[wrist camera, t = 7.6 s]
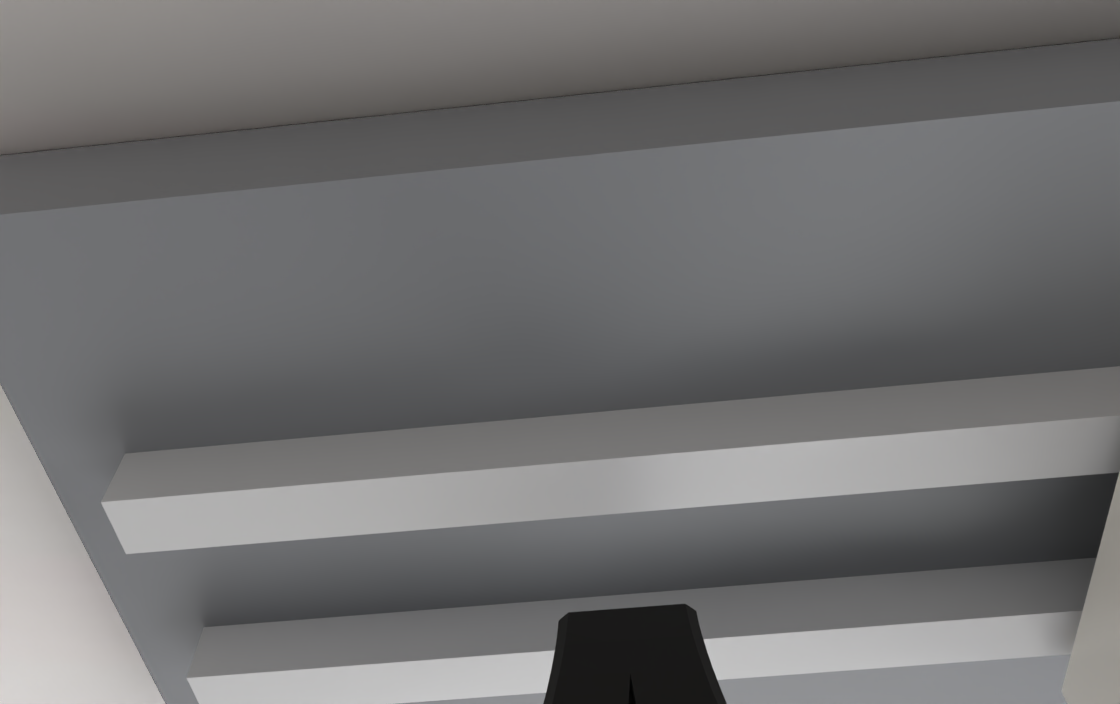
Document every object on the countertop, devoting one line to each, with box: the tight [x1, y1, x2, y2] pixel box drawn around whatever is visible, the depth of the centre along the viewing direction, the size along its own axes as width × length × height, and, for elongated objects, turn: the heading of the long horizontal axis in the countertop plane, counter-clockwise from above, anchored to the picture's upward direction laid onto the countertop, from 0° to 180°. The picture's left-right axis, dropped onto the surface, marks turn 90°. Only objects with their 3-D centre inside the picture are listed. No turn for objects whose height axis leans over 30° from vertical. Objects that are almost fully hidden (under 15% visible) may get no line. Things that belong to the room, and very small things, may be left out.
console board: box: [0, 38, 1120, 704], centre depth 13 cm, size 10×19×2 cm, turn 96°
